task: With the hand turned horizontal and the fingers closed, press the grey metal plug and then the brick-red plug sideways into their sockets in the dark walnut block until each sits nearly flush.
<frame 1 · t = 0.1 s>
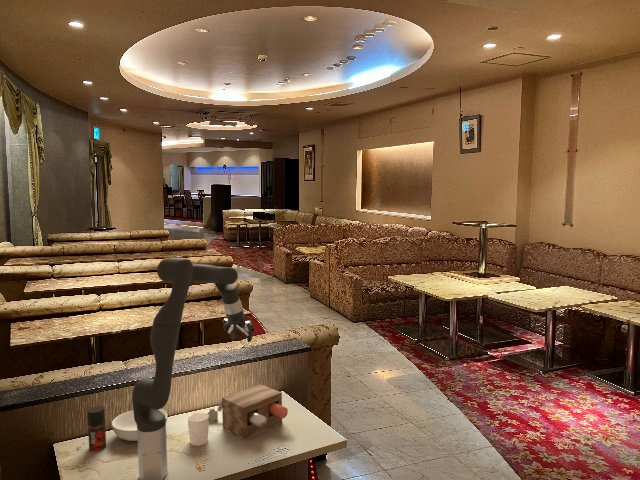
hand: (241, 340, 216), 31 cm above the table, tool tilted 20°, fingers open, 8 cm apart
white cup: (199, 442, 189), on the table
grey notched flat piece: (216, 420, 208), on the table
deodorant: (97, 448, 186), on the table
red plug: (275, 409, 200), point 7 cm above the table, slide at 0.0 cm
grey plug: (254, 418, 192), point 7 cm above the table, slide at 0.0 cm
serving bowl: (140, 435, 196), on the table
socket block: (252, 425, 202), on the table
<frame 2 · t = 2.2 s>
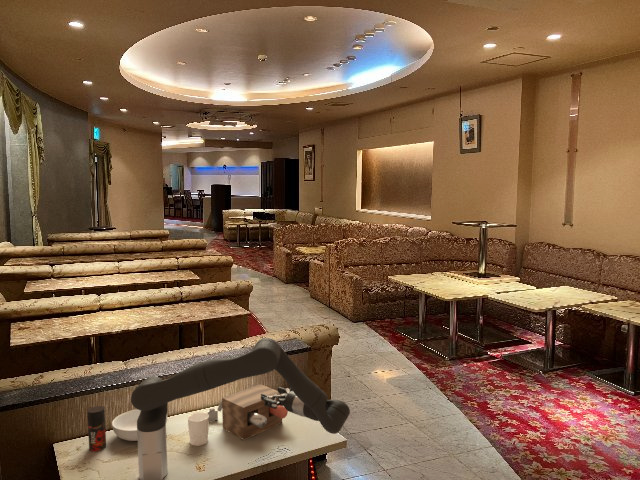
hand: (270, 392, 185), 20 cm above the table, tool horizontal, fingers open, 8 cm apart
nothing on the table moved.
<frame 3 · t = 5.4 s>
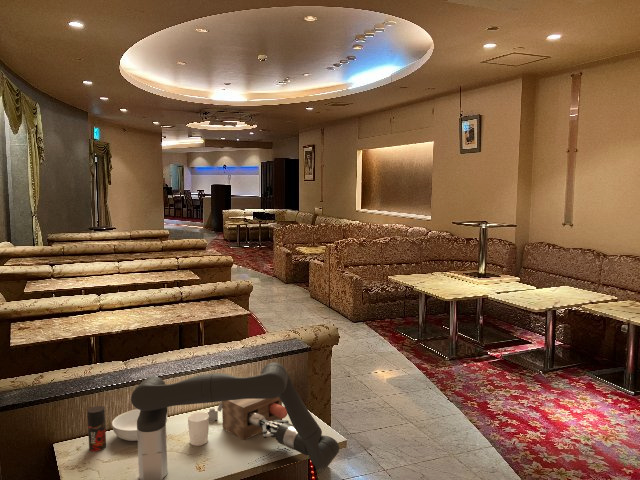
hand: (261, 421, 189), 7 cm above the table, tool horizontal, fingers closed
grey plug: (253, 417, 193), point 7 cm above the table, slide at 0.8 cm, touching gripper
everything else where it was.
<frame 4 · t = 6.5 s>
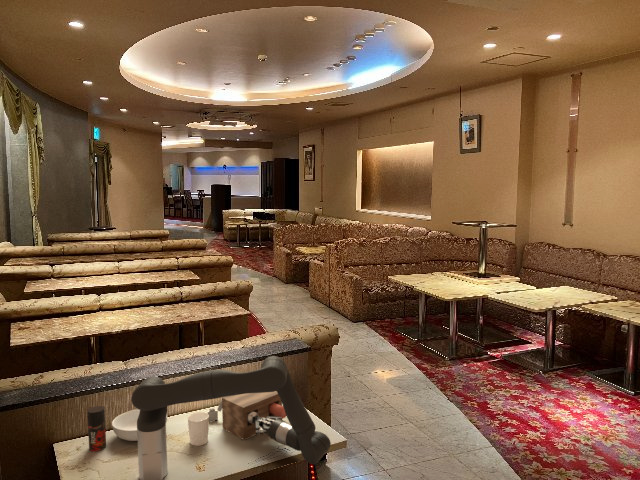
hand: (254, 418, 192), 7 cm above the table, tool horizontal, fingers closed
grey plug: (246, 414, 196), point 7 cm above the table, slide at 4.9 cm, touching gripper
everything else where it was.
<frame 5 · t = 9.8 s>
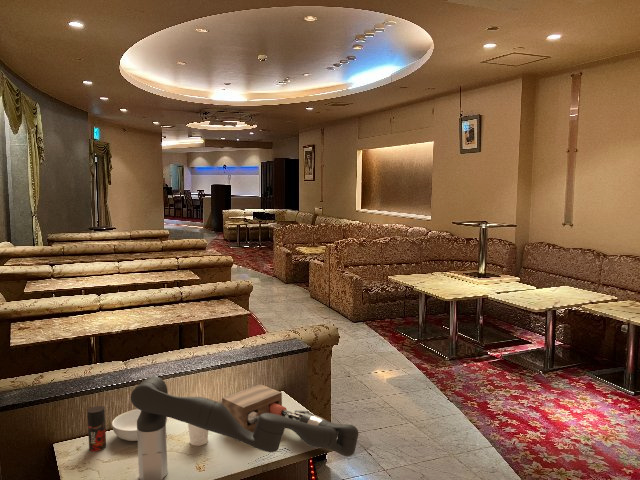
hand: (282, 412, 197), 8 cm above the table, tool horizontal, fingers closed
red plug: (274, 408, 201), point 7 cm above the table, slide at 0.6 cm, touching gripper
grey plug: (246, 414, 196), point 7 cm above the table, slide at 4.9 cm
everything else where it was.
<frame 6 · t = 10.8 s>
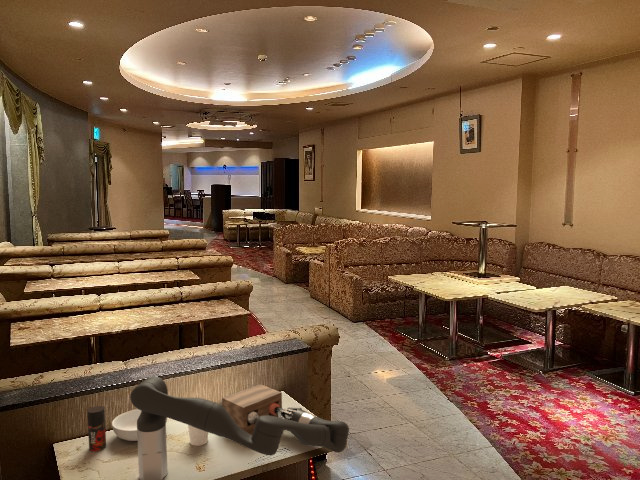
hand: (275, 409, 200), 8 cm above the table, tool horizontal, fingers closed
red plug: (267, 406, 203), point 7 cm above the table, slide at 4.8 cm, touching gripper
everything else where it was.
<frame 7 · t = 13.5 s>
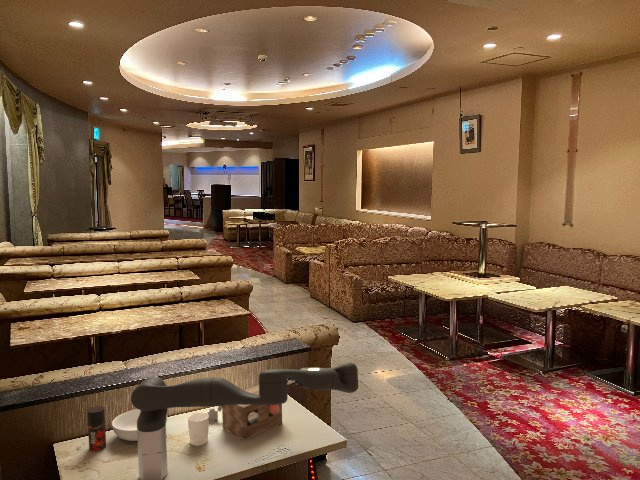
hand: (278, 377, 197), 21 cm above the table, tool horizontal, fingers closed
red plug: (267, 405, 203), point 7 cm above the table, slide at 4.9 cm
everything else where it was.
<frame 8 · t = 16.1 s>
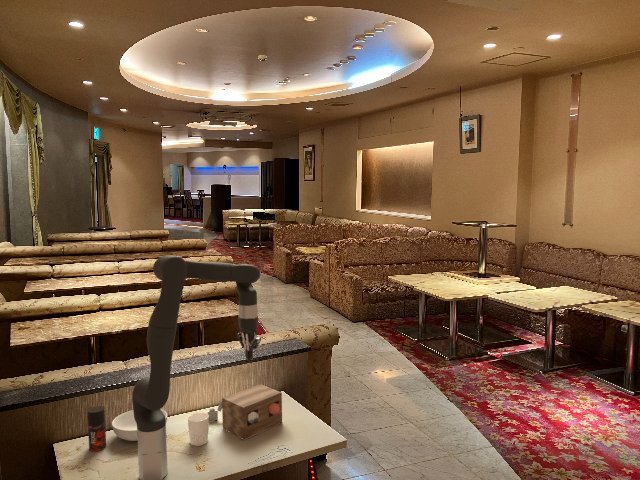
hand: (249, 358, 191), 31 cm above the table, tool pointing down, fingers closed
nothing on the table moved.
at the end: grey plug slide at 4.9 cm; red plug slide at 4.9 cm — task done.
